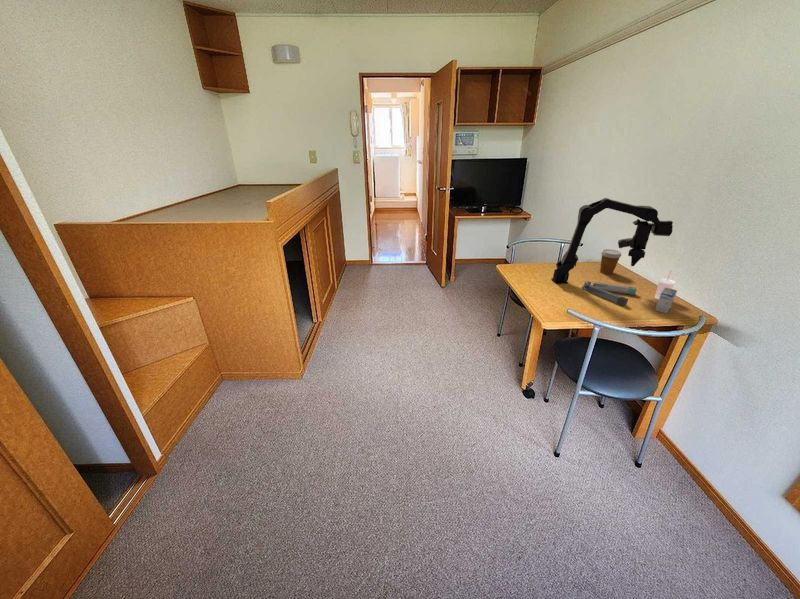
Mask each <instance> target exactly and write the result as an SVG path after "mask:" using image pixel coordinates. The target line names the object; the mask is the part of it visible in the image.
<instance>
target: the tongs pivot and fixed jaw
mask: <svg viewBox="0 0 800 599" xmlns="http://www.w3.org/2000/svg"><path fill="white" fill-rule="evenodd" d="M581 289H582V290H584V291H587V293H590V294H593V295H595V296H597V297H600V298H601V299H604V300H606V301H609V302H611V303H614V304H616V305H618V306H620V307H625V306H627V304H628V301H629V298H626V297H625V296H620V295H618V294H616V293H614V292H610V291H605V290H603V289H600V288H598V287H595V286H593V284H592V282H591V281H589V280H586V281H584V284H583V285H582V286H581Z"/></svg>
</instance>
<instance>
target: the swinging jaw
mask: <svg viewBox="0 0 800 599" xmlns="http://www.w3.org/2000/svg"><path fill="white" fill-rule="evenodd" d="M592 285H593V286H595V287H598V288H600V289H603V290H605V291H608V292H610V293H618V294H625V295H630V296H635V295H636V293H637V290H638V289H637V287H636V286H635V287H634V286H627V285H618V284H612V283H606V282H598V281H593V282H592Z"/></svg>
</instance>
